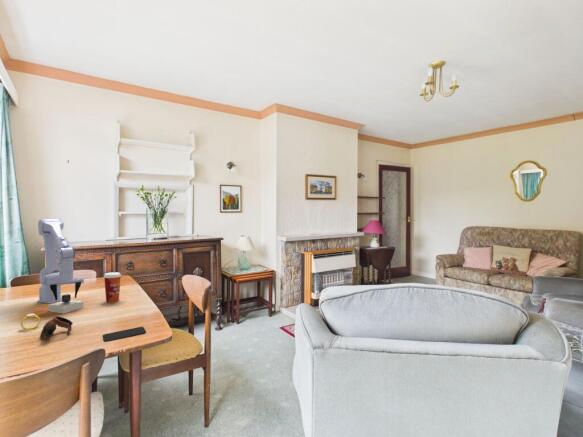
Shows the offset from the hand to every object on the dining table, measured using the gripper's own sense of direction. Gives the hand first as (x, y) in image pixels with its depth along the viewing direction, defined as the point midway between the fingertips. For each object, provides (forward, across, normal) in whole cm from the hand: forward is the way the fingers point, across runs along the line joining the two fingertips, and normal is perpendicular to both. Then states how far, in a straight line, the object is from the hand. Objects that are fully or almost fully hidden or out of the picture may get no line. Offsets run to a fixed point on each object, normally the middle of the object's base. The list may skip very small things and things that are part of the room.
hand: (66, 298), depth 151 cm
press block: (+5, 0, 0) cm, 5 cm away
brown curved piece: (+6, -2, -35) cm, 36 cm away
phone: (+6, +22, -47) cm, 52 cm away
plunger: (+5, 0, 0) cm, 5 cm away
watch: (+6, -11, -21) cm, 24 cm away
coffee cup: (+6, +20, +4) cm, 21 cm away
